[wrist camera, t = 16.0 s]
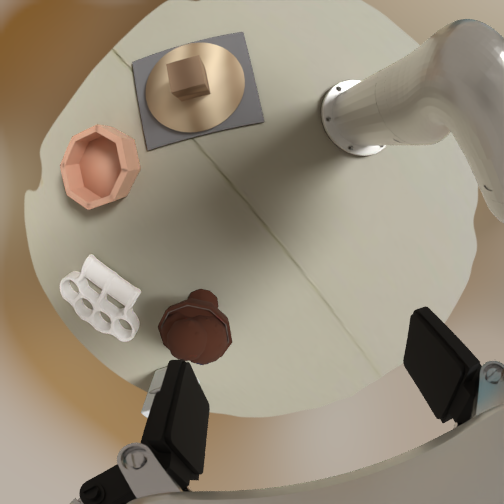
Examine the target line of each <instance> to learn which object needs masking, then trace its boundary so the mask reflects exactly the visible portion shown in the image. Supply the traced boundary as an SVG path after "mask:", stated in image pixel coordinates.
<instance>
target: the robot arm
mask: <svg viewBox="0 0 504 504" xmlns="http://www.w3.org/2000/svg"><path fill="white" fill-rule="evenodd" d="M336 89H338V91H337V90H336ZM321 117H322V123H323V126H324V128H325V131H326V132H327V134H328V136H329V137H330V139H331V140H332V141H333V142H334V143H335V144H336V145H337V146H338V147H339V148H341V149H342V150H344V151H345V152H348V153H350V154H353V155H358V156H368V155H373V154H376V153H378V152H380V151H382V150H383V149H384V148H385V147H386V146H387V145H431V144H435V143H438V142H440V141H441V140H443V139H444V138H446V137H447V136H448V135H449V133H450V132H452V134H453V136H454V137H455V139H456V141H457V142H458V144H459V146H460V148H461V150H462V151H463V153H464V155H465V157H466V159H467V161H468V163H469V165H470V167H471V169H472V171H473V174H474V176H475V178H476V180H477V183H478V185H479V188H480V190H481V192H482V194H483V197H484V199H485V201H486V204H487V206H488V207H489V209H490V211H491V212H492V213H493V215H494V216H495V217H496V218H497V219H498V220H500V221H501V222H503V223H504V38H503V37H502V36H501V35H500V34H499V33H498V32H497V31H495V30H494V29H493V28H491V27H490V26H488V25H486V24H485V23H483V22H480V21H477V20H473V19H462V20H457V21H455V22H452V23H450V24H448V25H446V26H444V27H443V28H441V29H440V30H438V31H437V32H436V33H435V34H434V35H432V36H431V37H430V38H429V39H428V40H427V41H426V42H424V43H423V44H422V45H421V46H420V47H418V48H417V49H416V50H414V51H413V52H412V53H410V54H409V55H407V56H405V57H404V58H402V59H400V60H399V61H397V62H395V63H393V64H391V65H389V66H388V67H386V68H384V69H382V70H380V71H378V72H377V73H375V74H373V75H371V76H369V77H368V78H366V79H364V80H362V81H360V80H346V81H343V82H340V83H338V84H336V85H335V86H333V87H332V88H331V89H330V90H329V91H328V92H327V94H326V95H325V97H324V99H323V103H322V107H321ZM326 118H327V119H328V121H326ZM348 146H349V147H350V149H348ZM403 361H404V366H405V368H406V369H407V371H408V373H409V374H410V376H411V377H412V379H413V380H414V382H415V384H416V385H417V387H418V388H419V390H420V392H421V393H422V395H423V396H424V398H425V400H426V401H427V403H428V405H429V406H430V408H431V410H432V411H433V413H434V415H435V416H436V418H437V419H441V421H442V423H445V422H446V421H448V420H450V419H452V418H453V419H454V421H455V425H454V429H453V430H451V431H449V432H447V433H445V434H443V435H441V436H439V437H438V438H435V439H433V440H432V441H429V442H427V443H425V444H424V445H421V446H419V447H417V448H415V449H412V450H410V451H408V452H405V453H403V454H401V455H398V456H396V457H393V458H391V459H388V460H385V461H382V462H380V463H377V464H374V465H371V466H368V467H365V468H362V469H358V470H355V471H352V472H349V473H345V474H341V475H338V476H333V477H329V478H325V479H320V480H316V481H311V482H306V483H300V484H294V485H289V486H281V487H274V488H265V489H254V490H239V491H209V492H208V491H204V492H203V491H199V492H192V491H191V490H190V489H189V487H188V485H189V481H190V480H199V474H202V473H203V467H204V458H205V447H206V437H207V428H208V418H209V403H208V401H207V399H206V397H205V395H204V393H203V391H202V388H201V386H200V384H199V382H198V380H197V378H196V376H195V374H194V372H193V369H192V367H191V365H190V363H189V362H185V360H184V359H180V360H170V361H169V363H168V366H167V369H166V373H165V376H164V379H163V382H162V386H161V389H160V391H157V392H156V394H155V396H154V399H153V403H152V406H151V409H150V412H149V416H148V419H147V423H146V426H145V429H144V433H143V436H142V440H141V443H131V444H128V445H126V446H125V447H123V448H122V449H121V451H120V452H119V454H118V456H117V463H118V464H117V465H115V466H114V467H112V468H110V469H108V470H107V471H105V472H103V473H101V474H99V475H97V476H96V477H94V478H92V479H90V480H88V481H86V482H85V483H84V484H83V485H82V487H81V489H80V498H79V499H78V500H77V499H76V498H75V499H74V500H73V501H72V502H71V503H70V504H504V365H503V364H502V363H500V362H497V361H489V362H486V363H485V364H484V365H483V366H481V365H480V361H479V360H478V359H477V358H476V357H475V356H474V355H473V354H472V352H471V351H470V350H469V349H468V348H467V347H466V346H465V345H464V344H463V343H462V342H461V341H460V339H459V338H458V337H457V336H456V335H454V333H453V332H452V331H451V330H450V329H449V328H448V327H447V326H446V325H445V324H444V323H443V322H442V321H441V320H440V319H439V318H438V317H437V316H436V315H435V314H434V313H433V312H432V311H431V310H430V309H429V308H428V307H423V308H420V309H417V310H415V311H414V312H413V314H412V315H411V318H410V325H409V331H408V338H407V344H406V349H405V355H404V360H403Z"/></svg>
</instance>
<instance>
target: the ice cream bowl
mask: <svg viewBox="0 0 504 504" xmlns="http://www.w3.org/2000/svg"><path fill="white" fill-rule="evenodd" d="M158 329H159V332H160V335H161V338H162V341H163V344H164V345H165V346H166V347H167V348H168V349H169V350H170V351H171V354H172V355H173V356H174V357H176V358H177V359H184V360H185V361H189V360H190V361H191V362H193V363H197V364H200V365H204V364H208V363H211V362H214V361H216V360H217V359H219V357H222V356H223V354H224V353H225V351H226V350H227V349H228V347H229V346H230V345H231V343H232V338H231V332H230V326H229V321H228V318H227V317H226V316H225V315H224V314H223V313H222V312H221V311H220V310H219V309H218V301H217V297H216V296H215V295H214V294H213V293H212V292H211V291H208V290H203V289H199V290H196V291H193V292H191V294H190V296H189V298H188V299H187V300H185V301H182V302H180V303H177V304H174V305H172V306H170V307H169V308H168V309H167V310H166V311H165V313H164V315H163V317H162V319H161V321H160V323H159V325H158Z"/></svg>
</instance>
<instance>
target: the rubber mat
mask: <svg viewBox="0 0 504 504" xmlns="http://www.w3.org/2000/svg"><path fill="white" fill-rule="evenodd" d="M192 43H211V44H215V45H218V46H220V47H223V48H224V49H226V50H228V51H229V52H230V53H232V54H233V55H234V56H235V57H236V58H237V60H238V61H239V63H240V65H241V67H242V69H243V72H244V78H245V88H244V93H243V97H242V99H241V102H240V104H239V105H238V107H237V109H236V110H235V111H234V112H233V114H232V115H231V116H230V117H229V118H228V119H226V120H225V121H224V122H222V123H221V124H219V125H217V126H215V127H213V128H211V129H208V130H205V131H200V132H191V133H189V132H180V131H176V130H173V129H170V128H168V127H166V126H164V125H163V124H161V123H160V122H159V121H158V120H157V119H156V118H155V117H154V116H153V115H152V113H151V111H150V110H149V107H148V105H147V101H146V84H147V80H148V77H149V75H150V73H151V71H152V69H153V68H154V66H155V65H156V63H157V62H158V61H159V60H160V59H161V58H162V57H163V56H164V55H166V54H167V53H168V52H170V51H172V50H173V49H175V48H178V47H180V46H178V47H174V48H171V49H168V50H165V51H162V52H159V53H156V54H153V55H150V56H147V57H144V58H142V59H139V60H136V61H134V62H133V70H134V77H135V84H136V90H137V96H138V102H139V108H140V114H141V119H142V124H143V130H144V135H145V139H146V144H147V149H148V150H152V149H155V148H158V147H161V146H165V145H168V144H171V143H175V142H178V141H182V140H185V139H189V138H193V137H197V136H201V135H205V134H209V133H213V132H217V131H222V130H226V129H231V128H235V127H240V126H245V125H251V124H256V123H262V122H264V118H263V113H262V109H261V104H260V100H259V95H258V91H257V86H256V82H255V78H254V74H253V69H252V65H251V61H250V57H249V53H248V49H247V45H246V41H245V37H244V33H243V32H238V33H233V34H227V35H222V36H217V37H213V38H208V39H204V40H200V41H196V42H192ZM188 44H191V43H188ZM185 45H186V44H185ZM181 46H183V45H181Z"/></svg>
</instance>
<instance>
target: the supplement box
mask: <svg viewBox="0 0 504 504" xmlns="http://www.w3.org/2000/svg"><path fill="white" fill-rule="evenodd" d="M166 369H167V367H165V368H162V369H158V370H156V371H155V374H154V377H153V379H152V382H151V385H150V388H149V391H148V393H147V397H146V400H145V402H144V405H143V408H142V411H141V413H142V414H143V415H144V416H145V417H147V418H148V416H149V412H150V409H151V406H152V403H153V399H154V396H155V394H156V392H157V391H160V389H161V386H162V382H163V379H164V376H165V373H166ZM197 380H198V379H197ZM198 382H199V384H200V381H199V380H198Z"/></svg>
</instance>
